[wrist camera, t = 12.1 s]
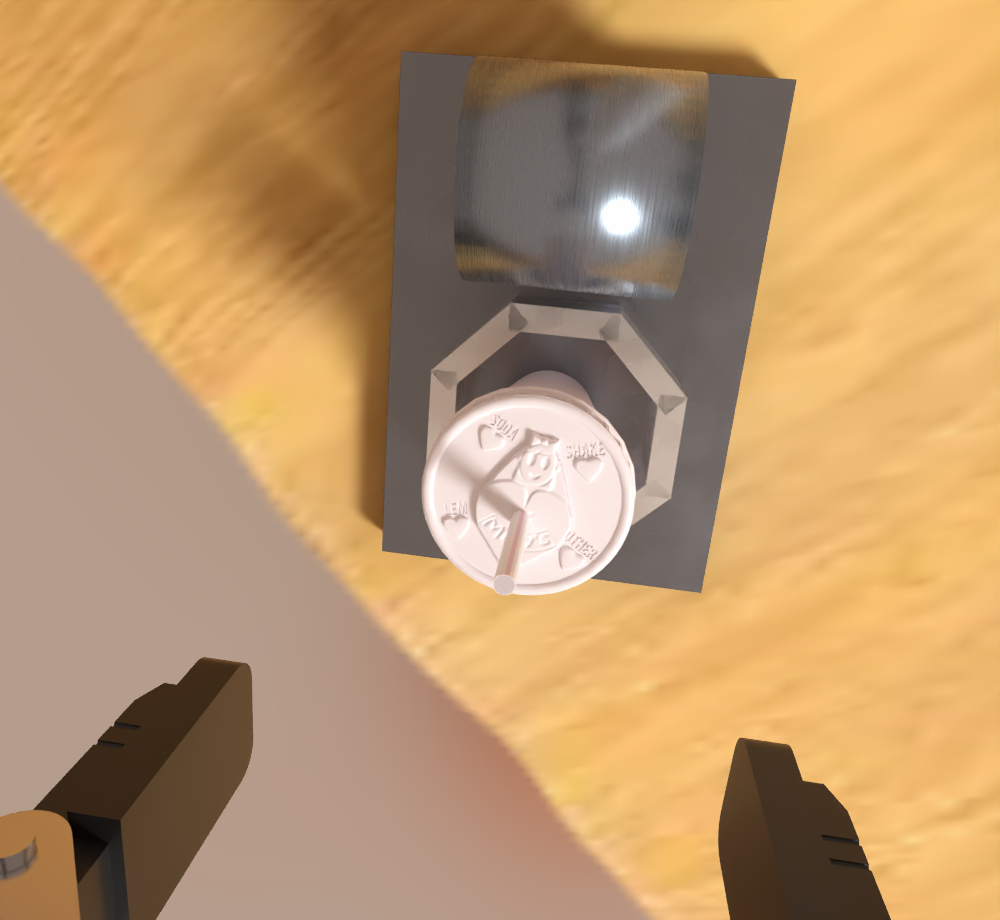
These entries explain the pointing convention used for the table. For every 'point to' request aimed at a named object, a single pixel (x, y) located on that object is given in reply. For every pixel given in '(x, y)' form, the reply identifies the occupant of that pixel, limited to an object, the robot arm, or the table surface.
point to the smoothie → (529, 487)
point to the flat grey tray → (581, 270)
